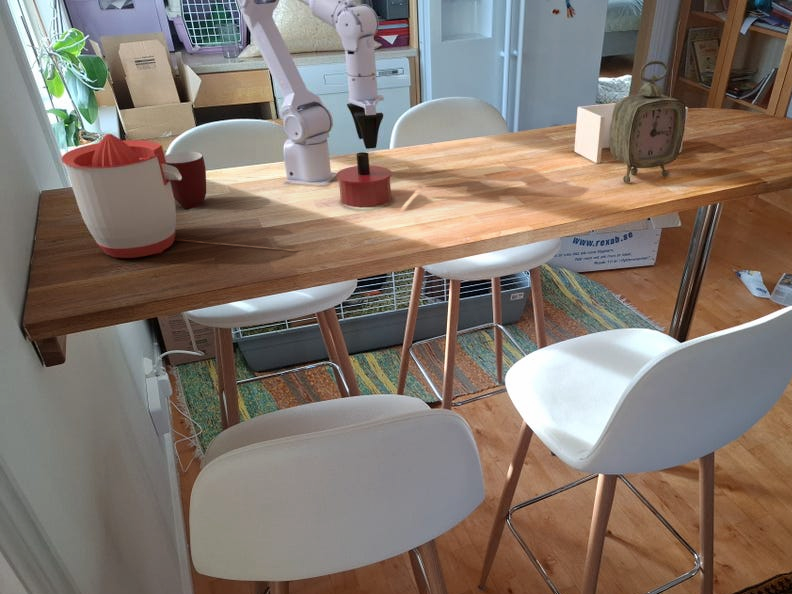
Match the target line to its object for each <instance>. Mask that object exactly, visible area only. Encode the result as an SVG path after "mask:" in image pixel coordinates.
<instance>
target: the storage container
mask: <svg viewBox="0 0 792 594" xmlns="http://www.w3.org/2000/svg"><path fill="white" fill-rule="evenodd" d="M615 104H616V102H615V103H613V102H612V103H604V104H595V105H585V106H584V105H582V106H577V110H576V111H577V112H576V124H575V125H576V126H575V137H574V138H575V139H574V150H573V151H574V152H575V153H577V154H578V155H580V156H582V157H584V158H586V159H587V160H589V161H592V162H593V163H595V164H600V163H601V160H602V153H603V152H602V151H603V149H610V127H611V121H612V114H613V110H614V106H615ZM685 108H686V118H685V126H686V125H687V118H688V113H689V112H688V111H689V107H687V106H685ZM685 131H686V127H685V128H684V132H685ZM684 136H685V133H684V134H683V139H682V144H681V147H680V151H679V154H680V153H682V151H683V143H684Z"/></svg>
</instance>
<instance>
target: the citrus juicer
mask: <svg viewBox="0 0 792 594" xmlns="http://www.w3.org/2000/svg"><path fill="white" fill-rule="evenodd" d="M61 162H62V163H63V164H64V166H65V169H66V173H67V175H68V178H69V181H70V184H71V188H72V191H73V194H74V197H75V201H76V204H77V207H78V210H79V212H80V215H81V217H82V220H83V222H84V224H85V226H86V228H87V229H88V231H89V233H90V234H91V236H92V238H93V239H94V240H95V243H96V244H97V245H98V247H99V248H100V249H101V250H102V251H103V252H104V253H105V254H106V255H107V256H109V257H112V258H114V259H131V258H133V259H134V258H141V257H147V256H152V255H157V254H161V253H163V252H164V251H165V250H167V249H169V247H171V246H172V245H173V244H174V243H175V237H176V234H177V233H176V232H177V231H176V230H177V228H176V224H177V211H176V210H177V209H176V201H175V198H174V196H173V191H172V187H171V183H170V180H181V179H182V176H181V174H180V173H179V171H178V169H177V168H176V167H173V166H170V165H167V164H166V160H165V153H164V148H163V145H162V144H161V143H158V142H156V141H151V140H141V139H139V140H138V139H126V140H125V139H124V140H122V139H121V138H119V137H117V136H115V135H114V134H112V133H107V134H105V135H104V136H103V137H102V138H101V140H100V142H96V143H91V144H87V145H83V146H80V147H77V148H73V149H71V150H69V151H67V152H66V153H64V154H63V155H62V157H61Z"/></svg>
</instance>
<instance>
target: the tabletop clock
mask: <svg viewBox="0 0 792 594" xmlns="http://www.w3.org/2000/svg"><path fill="white" fill-rule="evenodd" d="M652 65H661V66H663V68H664V73H663V74H662V75H661V76H659V77H656V75H655V74H651V75H650V78H646V77H644V76H643V72H644V70H645V69H646V68H647V67H649V66H652ZM667 73H668V65H667V64H666V63H665V62H664V61H662V60H650V61H648V62H646V63H645V64H644V65H643V66H642V67H641V69H640V71H639V77H640V79H641V80H642V81H644V82H646V83H644V84H643V85H642V86H641V87H640V89H639V91H638V93H637V94H631V95H627V96H624V97H622V98H620V99H618V100H617V101H616V102H615V103H616V104H615V106H614V110H613V114H612V121H611V127H610V148H609V150H610V154H611V157H612V158H613V159H615V160H617V161H619V162H620V163H621V162H622V163H623V164H625V165H627V168H626V175H624V176H623V179H622V180H623V182H624V183H625V184H628V183H630V181H631V176H630V174H631V175H633V176H634V175H637V174H638V172H639V170H638V169H650V168H652V169H653V168H656V167H660V168H661V170H662V172H661V175H662V177H664V178H667V177H669V175H670V171H669V170H668V169H666V168H665V165H669V164H671V163H673V162H674V161H676V160H677V158H678V156H679V154H680V153H679V151H680V147H681V144H682V139H683V140H684V138H683V134H684V135H685V131H684V128H685V129H686V125H685V118H686V108H685V107H686V103H685V102H684V101H682V100H679V99H677V98H673V97H670V96H667V95H664V94H663V89H662V86H661V85H660V84H659V83H656V82H660V81H661V80H663V79H664V78H665V77H666V75H667ZM682 145H683V144H682Z"/></svg>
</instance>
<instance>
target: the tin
mask: <svg viewBox="0 0 792 594" xmlns="http://www.w3.org/2000/svg"><path fill="white" fill-rule="evenodd" d="M338 187H339V195H340V202H341V203H342V205H343V204H344V205H346V206H348V207H353V208H374V207H379V206H383V205H385V204H387V203H389V202H390V201H391V200H392V191H391V189H392V188H391V177H390V178H389V179H388V180H386V181H383V182H379V183H374V184H365V185H357V184H348V183H344V182H341V181H339V180H338Z"/></svg>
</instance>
